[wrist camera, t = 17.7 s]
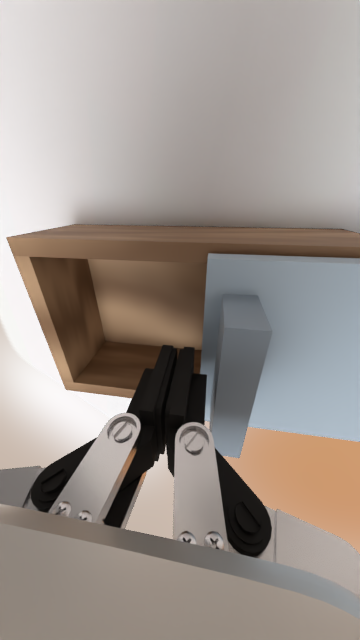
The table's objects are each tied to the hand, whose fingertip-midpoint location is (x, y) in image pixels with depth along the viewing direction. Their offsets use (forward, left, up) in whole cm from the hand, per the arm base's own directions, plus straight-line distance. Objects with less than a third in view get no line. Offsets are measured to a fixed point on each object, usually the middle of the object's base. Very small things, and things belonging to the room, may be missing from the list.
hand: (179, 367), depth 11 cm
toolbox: (0, +7, -9) cm, 11 cm away
